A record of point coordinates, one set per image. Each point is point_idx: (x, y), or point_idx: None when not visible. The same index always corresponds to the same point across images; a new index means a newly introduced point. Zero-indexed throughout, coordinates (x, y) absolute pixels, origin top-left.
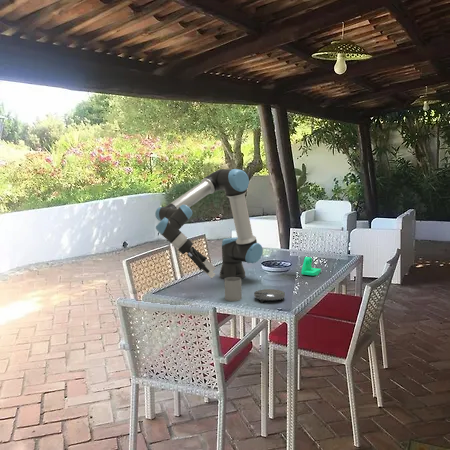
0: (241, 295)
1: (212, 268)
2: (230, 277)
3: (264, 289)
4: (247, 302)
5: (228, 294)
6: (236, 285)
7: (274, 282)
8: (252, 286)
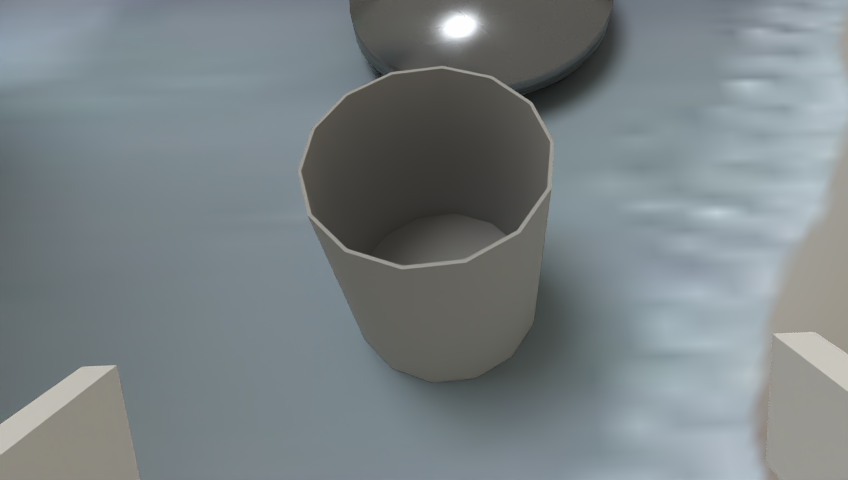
0: (458, 199)
1: (95, 452)
2: (307, 194)
3: (353, 20)
4: (581, 169)
5: (526, 307)
6: (534, 154)
7: (16, 15)
8: (63, 147)
